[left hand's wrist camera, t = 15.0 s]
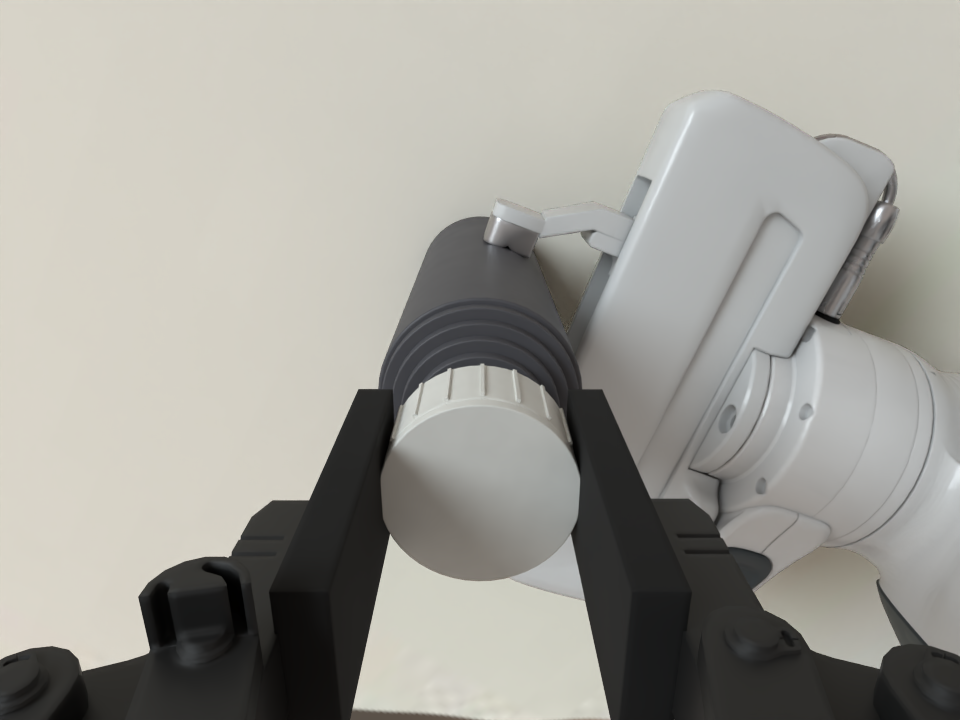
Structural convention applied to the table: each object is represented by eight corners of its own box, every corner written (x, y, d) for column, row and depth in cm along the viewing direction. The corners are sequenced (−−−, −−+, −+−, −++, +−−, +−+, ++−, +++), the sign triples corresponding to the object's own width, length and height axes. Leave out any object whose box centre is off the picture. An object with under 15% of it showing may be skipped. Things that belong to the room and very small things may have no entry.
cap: (392, 522, 15) (379, 582, 13) (387, 359, 14) (372, 399, 12) (564, 525, 15) (576, 586, 13) (576, 363, 14) (592, 404, 12)
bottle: (442, 200, 29) (387, 321, 12) (555, 238, 30) (658, 407, 13) (408, 310, 31) (318, 554, 14) (515, 344, 32) (558, 619, 14)
